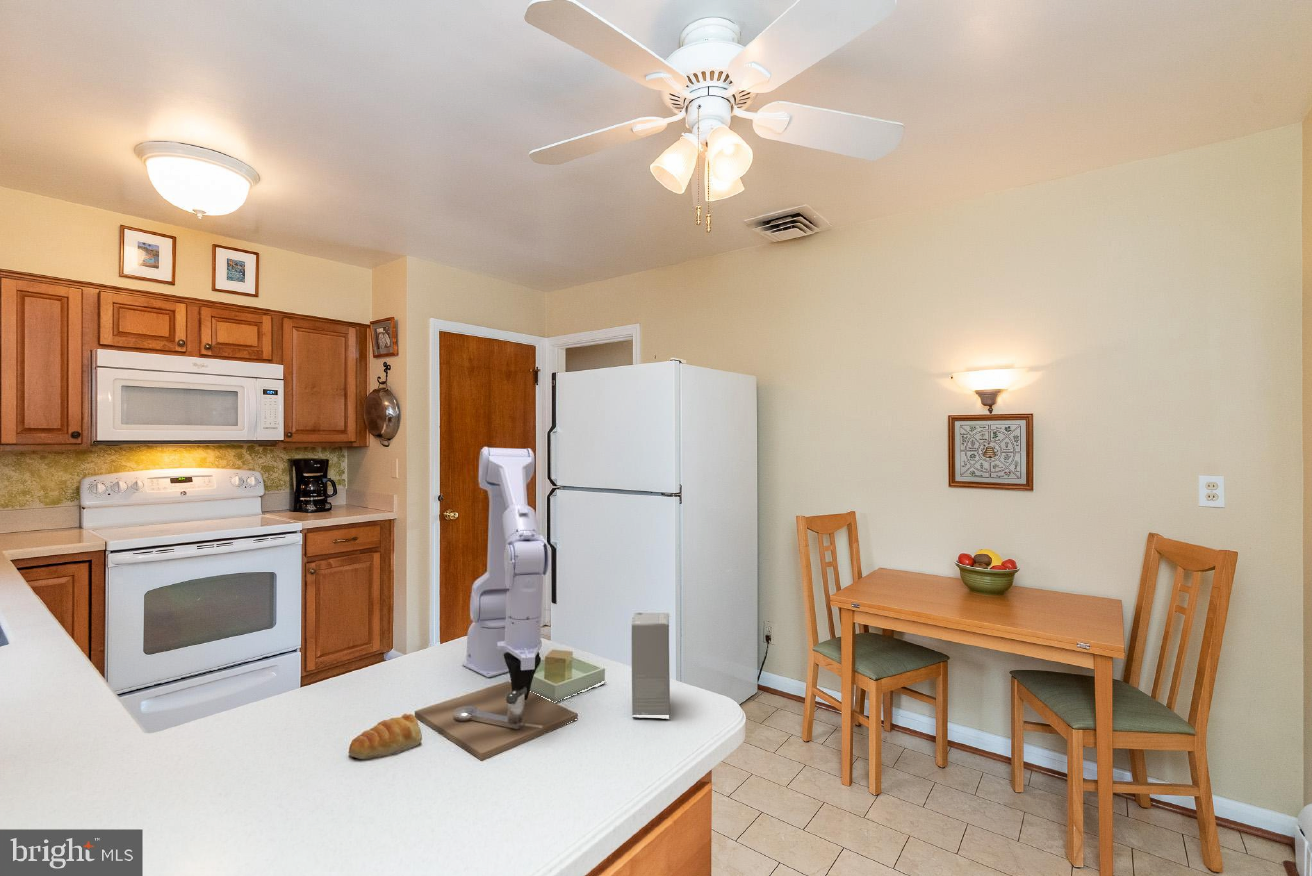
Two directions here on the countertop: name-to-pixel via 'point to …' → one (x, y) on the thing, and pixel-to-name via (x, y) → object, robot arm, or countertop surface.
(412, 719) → the pastry
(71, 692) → the countertop surface
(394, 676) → the countertop surface
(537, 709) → the crank plate
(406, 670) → the countertop surface
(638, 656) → the skincare box
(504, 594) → the robot arm
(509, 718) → the crank
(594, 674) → the tray
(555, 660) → the block
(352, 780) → the countertop surface
